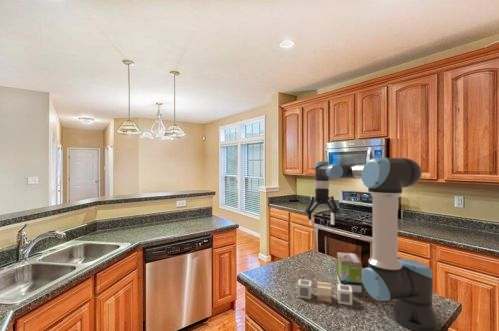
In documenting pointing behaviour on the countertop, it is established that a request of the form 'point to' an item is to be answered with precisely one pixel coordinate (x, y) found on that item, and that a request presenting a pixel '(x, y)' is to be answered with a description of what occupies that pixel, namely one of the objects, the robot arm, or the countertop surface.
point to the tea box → (349, 271)
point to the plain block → (324, 291)
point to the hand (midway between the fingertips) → (321, 224)
